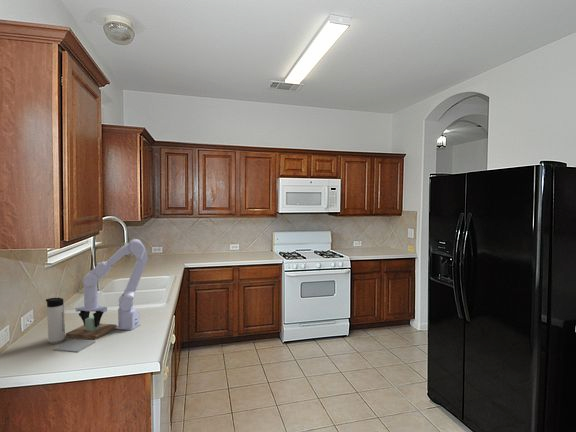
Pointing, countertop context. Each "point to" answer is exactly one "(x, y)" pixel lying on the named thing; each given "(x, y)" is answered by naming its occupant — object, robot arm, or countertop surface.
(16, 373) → the countertop surface
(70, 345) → the rubber mat
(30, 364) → the countertop surface
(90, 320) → the green block
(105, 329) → the pocket tray
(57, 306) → the travel mug
